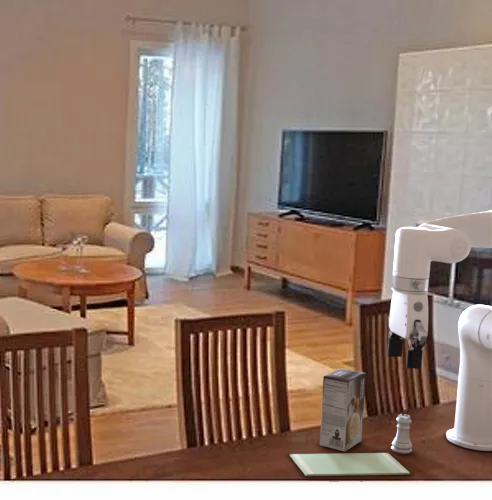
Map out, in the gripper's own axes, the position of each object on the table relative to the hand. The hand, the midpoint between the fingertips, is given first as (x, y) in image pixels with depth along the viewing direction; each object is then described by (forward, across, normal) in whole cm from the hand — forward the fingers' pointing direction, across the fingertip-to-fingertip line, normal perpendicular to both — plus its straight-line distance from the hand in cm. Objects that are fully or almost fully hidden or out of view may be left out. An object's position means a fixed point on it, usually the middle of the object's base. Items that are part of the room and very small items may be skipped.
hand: (403, 362), depth 183 cm
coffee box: (+20, +4, +11) cm, 24 cm away
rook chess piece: (+20, -1, -1) cm, 20 cm away
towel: (+20, -8, +14) cm, 26 cm away
